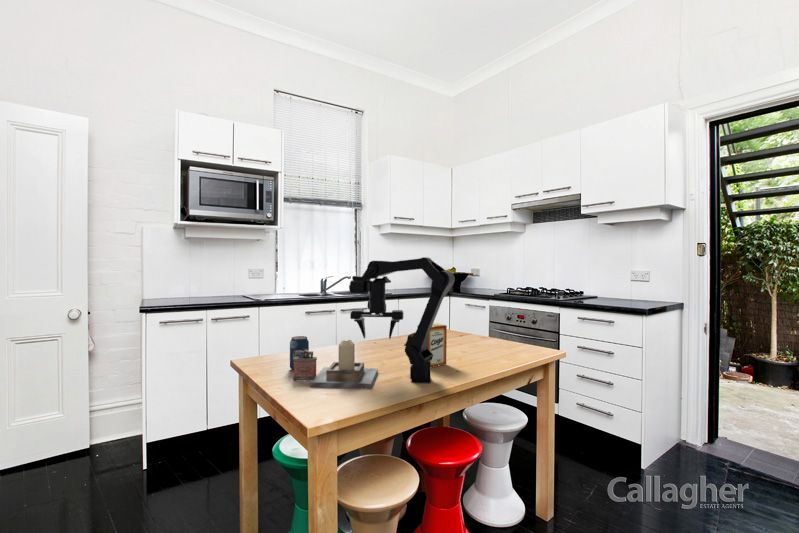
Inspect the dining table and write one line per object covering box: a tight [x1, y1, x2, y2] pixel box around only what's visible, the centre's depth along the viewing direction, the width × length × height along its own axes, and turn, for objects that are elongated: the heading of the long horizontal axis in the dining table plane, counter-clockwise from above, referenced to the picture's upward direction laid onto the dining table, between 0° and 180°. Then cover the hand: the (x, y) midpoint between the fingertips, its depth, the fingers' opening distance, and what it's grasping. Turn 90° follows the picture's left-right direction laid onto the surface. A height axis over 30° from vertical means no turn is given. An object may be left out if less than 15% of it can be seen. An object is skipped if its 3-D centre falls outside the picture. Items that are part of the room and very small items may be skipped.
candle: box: [338, 339, 356, 370], centre depth 137 cm, size 6×6×10 cm
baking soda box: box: [417, 322, 448, 368], centre depth 157 cm, size 10×6×16 cm
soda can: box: [289, 335, 310, 372], centre depth 149 cm, size 7×7×12 cm
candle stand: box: [309, 361, 379, 389], centre depth 137 cm, size 20×18×4 cm
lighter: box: [292, 350, 318, 381], centre depth 137 cm, size 8×3×10 cm, turn 92°
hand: (377, 338), depth 143 cm, fingers open, 9 cm apart
